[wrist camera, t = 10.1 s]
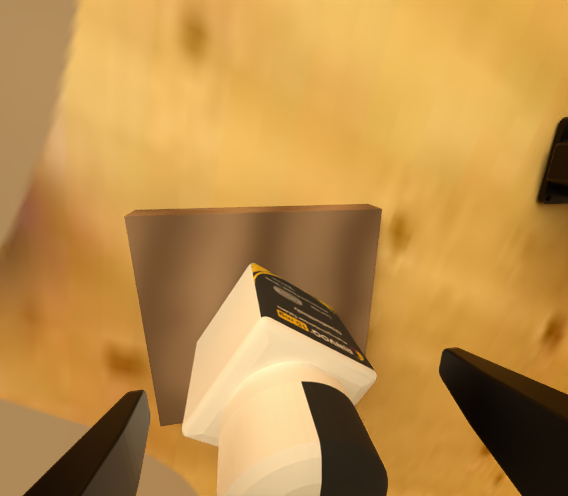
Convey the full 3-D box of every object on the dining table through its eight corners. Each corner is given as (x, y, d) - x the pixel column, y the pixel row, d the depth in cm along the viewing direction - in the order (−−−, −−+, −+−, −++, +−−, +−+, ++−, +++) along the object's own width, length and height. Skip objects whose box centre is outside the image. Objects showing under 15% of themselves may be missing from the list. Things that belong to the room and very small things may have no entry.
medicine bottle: (333, 306, 21) (455, 484, 10) (279, 378, 22) (330, 612, 11) (251, 259, 19) (284, 420, 7) (195, 342, 20) (149, 591, 8)
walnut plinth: (368, 204, 21) (381, 209, 19) (350, 378, 26) (360, 396, 24) (135, 210, 18) (124, 216, 16) (166, 404, 23) (160, 426, 21)
